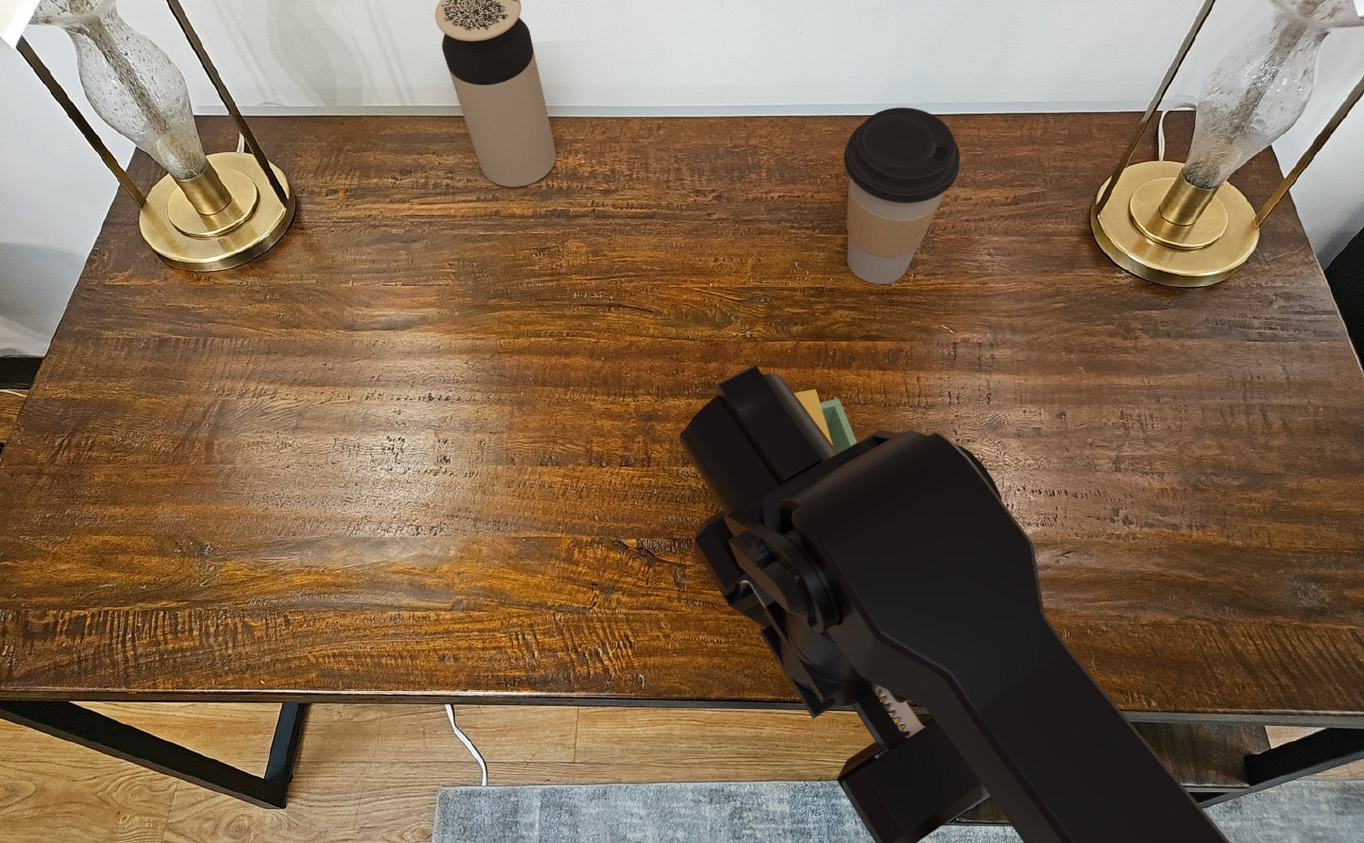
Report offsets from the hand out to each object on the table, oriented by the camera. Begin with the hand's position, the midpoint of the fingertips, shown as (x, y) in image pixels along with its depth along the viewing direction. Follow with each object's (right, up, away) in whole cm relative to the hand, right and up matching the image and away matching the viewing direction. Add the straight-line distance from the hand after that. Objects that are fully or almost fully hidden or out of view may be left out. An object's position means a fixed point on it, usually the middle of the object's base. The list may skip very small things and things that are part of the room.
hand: (815, 687), depth 54 cm
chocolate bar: (+1, +9, +19) cm, 21 cm away
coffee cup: (+11, +31, +32) cm, 46 cm away
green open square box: (+1, +9, +20) cm, 22 cm away
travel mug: (-25, +43, +39) cm, 64 cm away
